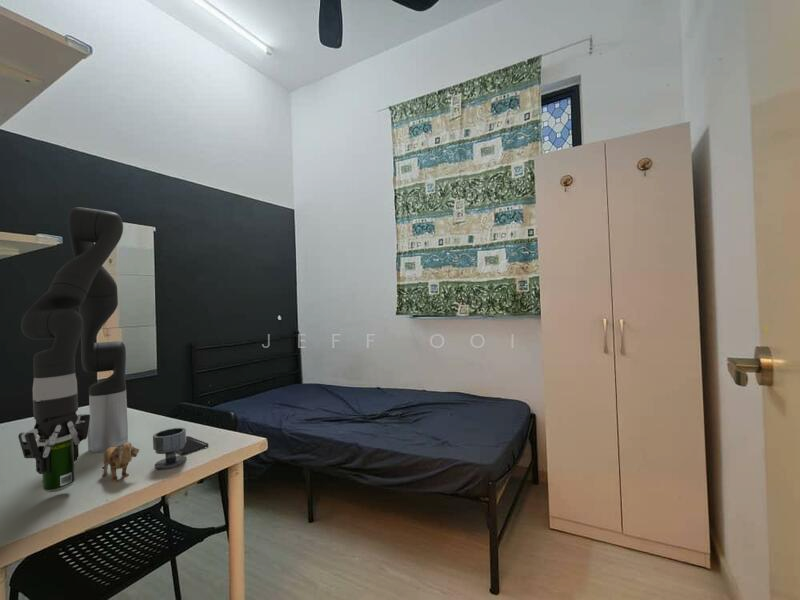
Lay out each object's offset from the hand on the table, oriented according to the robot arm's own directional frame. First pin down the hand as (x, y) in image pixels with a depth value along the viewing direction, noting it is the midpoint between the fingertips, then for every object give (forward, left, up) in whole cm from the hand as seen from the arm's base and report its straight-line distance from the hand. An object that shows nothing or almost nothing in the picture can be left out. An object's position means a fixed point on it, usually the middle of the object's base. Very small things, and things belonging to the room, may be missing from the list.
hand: (58, 467), depth 83 cm
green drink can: (0, 0, -5) cm, 5 cm away
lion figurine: (+5, +10, -7) cm, 13 cm away
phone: (+9, +29, -7) cm, 31 cm away
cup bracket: (+14, +17, -7) cm, 23 cm away
